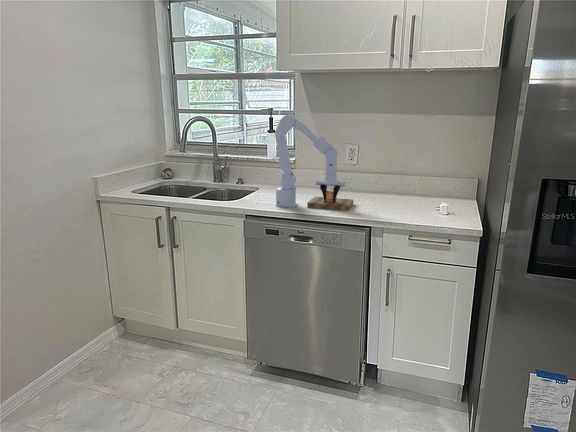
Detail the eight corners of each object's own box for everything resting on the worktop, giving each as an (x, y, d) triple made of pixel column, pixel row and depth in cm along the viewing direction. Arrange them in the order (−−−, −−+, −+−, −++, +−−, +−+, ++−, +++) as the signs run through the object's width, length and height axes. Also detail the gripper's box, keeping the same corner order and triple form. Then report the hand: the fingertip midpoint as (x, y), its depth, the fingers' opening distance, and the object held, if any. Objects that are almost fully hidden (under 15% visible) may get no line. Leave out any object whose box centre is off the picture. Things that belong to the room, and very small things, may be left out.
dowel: (324, 204, 208) (324, 192, 206) (326, 202, 211) (327, 190, 210) (332, 205, 206) (333, 192, 205) (334, 203, 210) (335, 191, 208)
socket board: (307, 207, 208) (307, 202, 207) (314, 201, 221) (314, 196, 220) (347, 210, 202) (348, 205, 201) (353, 204, 214) (353, 199, 214)
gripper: (313, 173, 203) (313, 200, 207) (343, 175, 199) (342, 203, 202) (317, 171, 210) (317, 197, 213) (346, 172, 205) (345, 200, 209)
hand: (329, 200), depth 208 cm, fingers closed on dowel, 4 cm apart
